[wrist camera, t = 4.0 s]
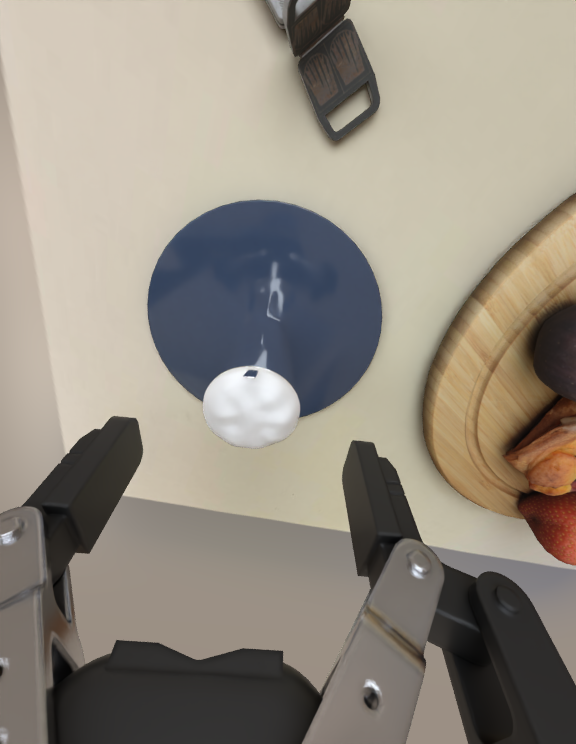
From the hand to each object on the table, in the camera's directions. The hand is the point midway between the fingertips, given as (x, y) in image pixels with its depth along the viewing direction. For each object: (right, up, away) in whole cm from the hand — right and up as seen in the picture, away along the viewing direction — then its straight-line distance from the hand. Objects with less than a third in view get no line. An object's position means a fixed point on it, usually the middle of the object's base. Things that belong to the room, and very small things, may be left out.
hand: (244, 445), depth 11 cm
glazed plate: (0, +6, +10) cm, 12 cm away
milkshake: (0, +6, +10) cm, 11 cm away
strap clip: (+3, +19, +2) cm, 19 cm away
